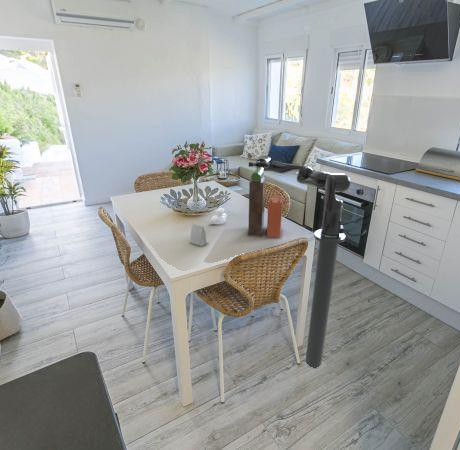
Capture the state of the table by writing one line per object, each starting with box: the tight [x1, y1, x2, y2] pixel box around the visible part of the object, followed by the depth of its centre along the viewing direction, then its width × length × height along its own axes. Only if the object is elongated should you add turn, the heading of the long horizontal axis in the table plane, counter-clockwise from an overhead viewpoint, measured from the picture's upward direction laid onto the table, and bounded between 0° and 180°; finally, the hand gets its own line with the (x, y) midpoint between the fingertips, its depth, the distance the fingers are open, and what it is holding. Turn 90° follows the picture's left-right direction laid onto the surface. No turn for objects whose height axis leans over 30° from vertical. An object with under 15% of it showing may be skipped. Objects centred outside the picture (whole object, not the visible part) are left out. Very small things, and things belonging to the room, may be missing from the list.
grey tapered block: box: [190, 223, 207, 247], centre depth 158 cm, size 4×7×10 cm, turn 58°
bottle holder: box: [266, 194, 284, 239], centre depth 170 cm, size 7×12×21 cm, turn 171°
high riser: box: [247, 175, 266, 237], centre depth 169 cm, size 7×12×31 cm, turn 171°
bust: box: [209, 207, 228, 226], centre depth 183 cm, size 12×8×11 cm
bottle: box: [250, 167, 265, 182], centre depth 167 cm, size 5×21×5 cm, turn 170°
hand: (259, 165), depth 183 cm, fingers open, 8 cm apart
